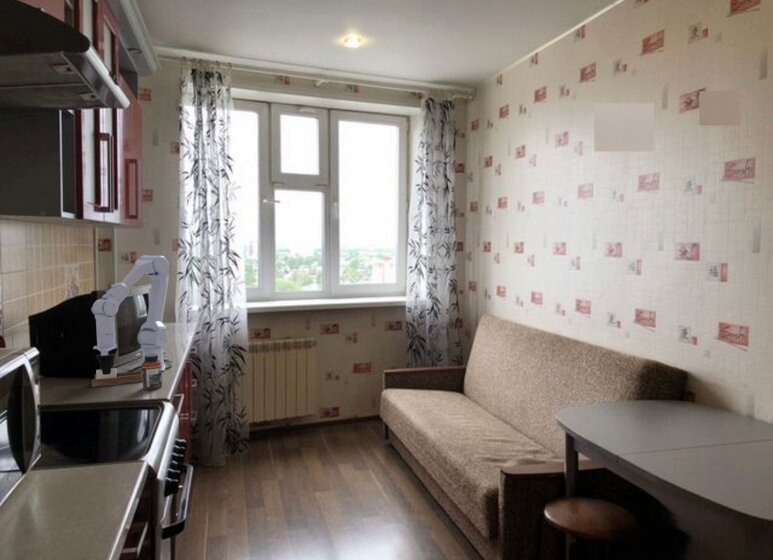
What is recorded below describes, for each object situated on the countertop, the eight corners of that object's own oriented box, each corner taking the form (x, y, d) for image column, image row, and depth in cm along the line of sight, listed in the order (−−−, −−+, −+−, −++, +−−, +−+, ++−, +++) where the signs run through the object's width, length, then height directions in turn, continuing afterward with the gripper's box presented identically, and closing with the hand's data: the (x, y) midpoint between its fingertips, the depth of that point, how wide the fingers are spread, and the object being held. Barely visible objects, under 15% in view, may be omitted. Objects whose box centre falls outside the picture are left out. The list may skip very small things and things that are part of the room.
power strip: (97, 382, 179) (97, 370, 180) (116, 380, 181) (116, 368, 182) (96, 381, 176) (96, 369, 177) (115, 379, 178) (115, 367, 179)
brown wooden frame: (95, 381, 180) (94, 374, 180) (144, 376, 186) (144, 370, 186) (92, 387, 173) (91, 380, 173) (143, 381, 179) (143, 375, 179)
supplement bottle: (143, 386, 174) (141, 353, 173) (162, 384, 176) (160, 352, 175) (142, 391, 168) (141, 357, 167) (162, 388, 171) (161, 355, 170)
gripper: (96, 330, 182) (97, 368, 183) (89, 337, 169) (91, 378, 170) (118, 329, 185) (119, 366, 186) (113, 336, 171) (115, 375, 173)
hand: (107, 371), depth 178 cm, fingers open, 7 cm apart
